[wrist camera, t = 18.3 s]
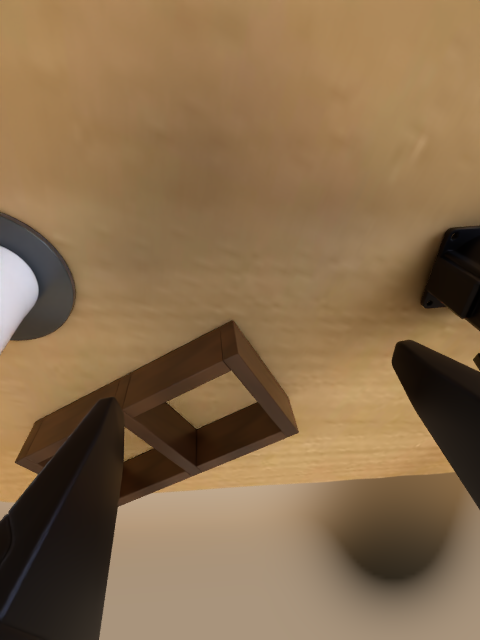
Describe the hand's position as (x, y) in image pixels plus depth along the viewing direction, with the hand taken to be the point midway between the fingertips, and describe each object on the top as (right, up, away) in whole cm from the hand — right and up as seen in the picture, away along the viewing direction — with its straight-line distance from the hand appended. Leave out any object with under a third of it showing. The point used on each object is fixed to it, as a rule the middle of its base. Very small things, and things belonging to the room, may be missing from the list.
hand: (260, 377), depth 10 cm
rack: (-8, -7, +20) cm, 22 cm away
